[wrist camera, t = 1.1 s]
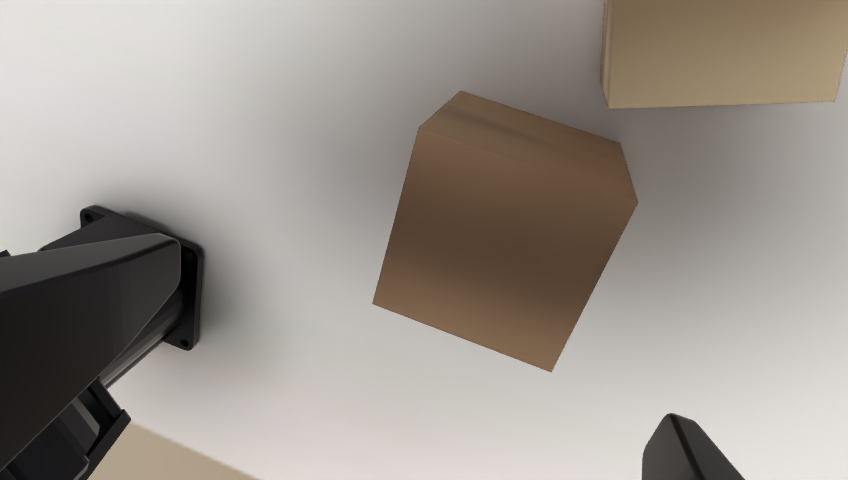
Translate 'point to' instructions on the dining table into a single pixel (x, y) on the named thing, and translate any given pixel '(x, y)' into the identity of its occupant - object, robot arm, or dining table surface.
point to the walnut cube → (504, 227)
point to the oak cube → (722, 52)
